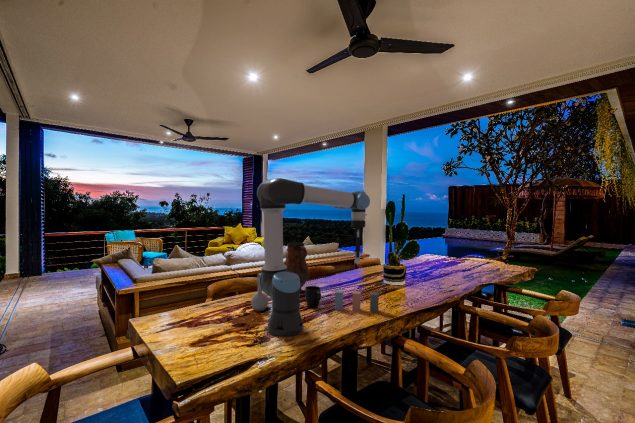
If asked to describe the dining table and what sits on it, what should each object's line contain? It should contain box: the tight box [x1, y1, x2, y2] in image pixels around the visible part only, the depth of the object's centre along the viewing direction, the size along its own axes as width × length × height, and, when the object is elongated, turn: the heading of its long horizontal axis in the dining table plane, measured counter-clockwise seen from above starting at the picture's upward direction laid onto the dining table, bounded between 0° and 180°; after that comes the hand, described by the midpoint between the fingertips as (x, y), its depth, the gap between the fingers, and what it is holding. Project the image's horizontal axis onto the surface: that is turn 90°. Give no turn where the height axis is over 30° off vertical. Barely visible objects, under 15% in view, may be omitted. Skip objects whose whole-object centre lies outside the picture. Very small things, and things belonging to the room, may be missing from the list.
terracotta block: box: [351, 290, 362, 312], centre depth 152 cm, size 4×4×9 cm
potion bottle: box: [250, 272, 269, 312], centre depth 152 cm, size 9×9×18 cm
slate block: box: [334, 289, 344, 311], centre depth 153 cm, size 4×4×9 cm
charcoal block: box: [369, 291, 380, 314], centre depth 151 cm, size 4×4×9 cm
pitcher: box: [283, 242, 310, 295], centre depth 180 cm, size 17×21×30 cm
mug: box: [304, 285, 322, 308], centre depth 156 cm, size 8×12×10 cm
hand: (357, 263), depth 161 cm, fingers closed
